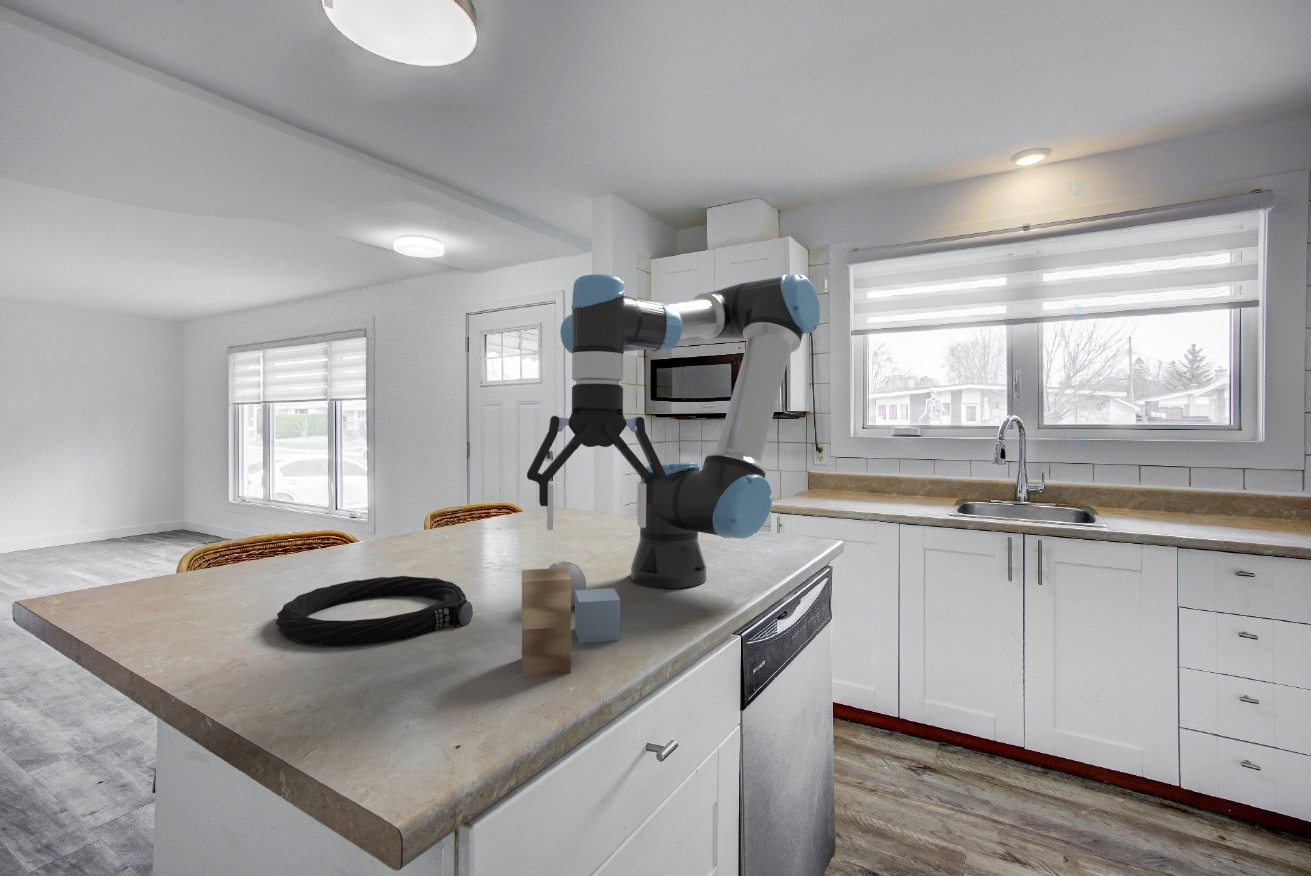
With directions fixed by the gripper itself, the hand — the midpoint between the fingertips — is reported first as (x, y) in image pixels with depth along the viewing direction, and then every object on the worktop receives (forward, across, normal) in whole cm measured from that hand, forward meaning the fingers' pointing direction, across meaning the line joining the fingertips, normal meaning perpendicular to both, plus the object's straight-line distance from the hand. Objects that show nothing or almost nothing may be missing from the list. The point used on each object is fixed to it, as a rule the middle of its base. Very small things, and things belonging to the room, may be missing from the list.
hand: (596, 527), depth 90 cm
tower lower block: (+16, +8, +10) cm, 20 cm away
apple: (+16, +4, -14) cm, 22 cm away
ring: (+17, +32, -15) cm, 39 cm away
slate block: (+16, 0, 0) cm, 16 cm away
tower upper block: (+10, +8, +10) cm, 16 cm away
